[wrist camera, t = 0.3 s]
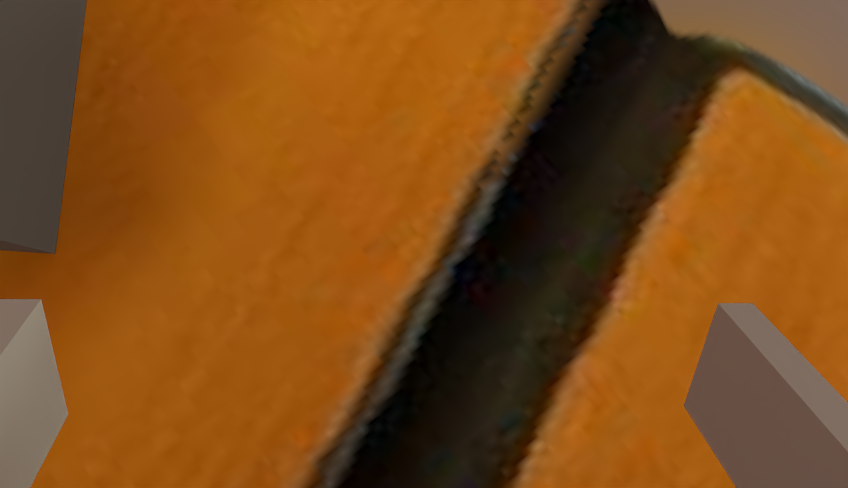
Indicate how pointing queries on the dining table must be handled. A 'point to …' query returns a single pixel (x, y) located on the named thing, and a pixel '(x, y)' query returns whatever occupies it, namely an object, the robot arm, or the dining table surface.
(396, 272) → the dining table surface
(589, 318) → the dining table surface
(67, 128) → the control box
